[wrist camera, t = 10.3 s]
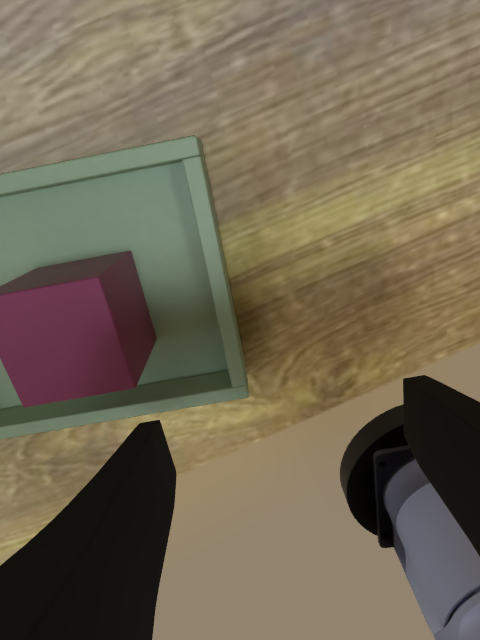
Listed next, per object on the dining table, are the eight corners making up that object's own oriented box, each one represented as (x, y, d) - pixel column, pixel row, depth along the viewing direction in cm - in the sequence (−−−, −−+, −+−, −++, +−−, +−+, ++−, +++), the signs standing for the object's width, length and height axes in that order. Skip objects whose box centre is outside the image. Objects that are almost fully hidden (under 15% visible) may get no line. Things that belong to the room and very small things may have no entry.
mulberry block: (157, 339, 18) (136, 389, 14) (69, 355, 18) (22, 408, 14) (131, 250, 17) (98, 276, 12) (35, 268, 17) (-30, 300, 13)
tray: (247, 372, 20) (249, 397, 18) (-27, 419, 20) (-59, 449, 18) (201, 140, 16) (196, 134, 13) (-143, 208, 16) (-203, 214, 14)
